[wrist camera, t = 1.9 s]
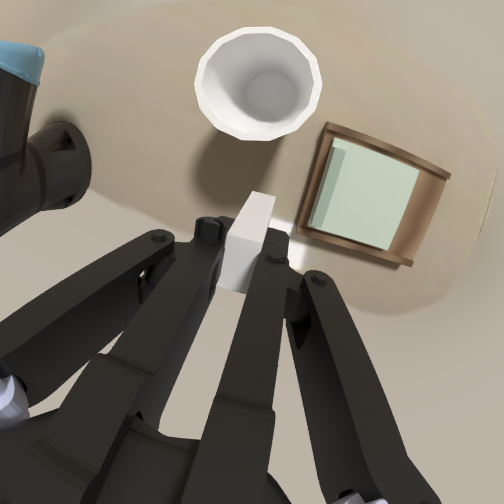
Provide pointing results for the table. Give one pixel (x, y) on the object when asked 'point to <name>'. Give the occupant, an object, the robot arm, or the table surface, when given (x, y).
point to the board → (416, 210)
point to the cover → (362, 194)
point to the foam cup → (258, 83)
